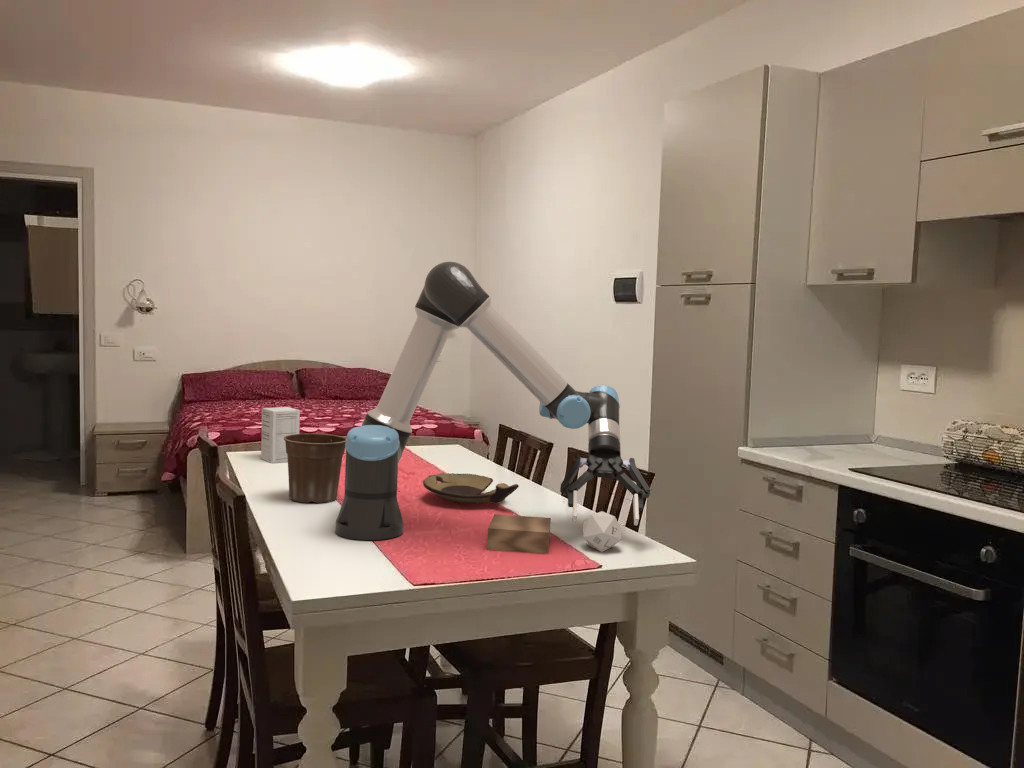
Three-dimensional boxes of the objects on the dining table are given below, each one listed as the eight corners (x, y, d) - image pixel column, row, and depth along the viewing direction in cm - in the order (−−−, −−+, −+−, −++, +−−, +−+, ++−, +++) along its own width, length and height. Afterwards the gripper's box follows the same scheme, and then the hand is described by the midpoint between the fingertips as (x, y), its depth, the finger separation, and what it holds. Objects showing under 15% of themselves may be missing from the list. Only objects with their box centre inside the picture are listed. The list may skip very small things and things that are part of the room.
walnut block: (487, 551, 176) (488, 528, 176) (493, 535, 189) (494, 514, 189) (547, 555, 175) (548, 532, 175) (549, 539, 188) (550, 517, 188)
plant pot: (358, 497, 219) (360, 437, 218) (319, 508, 204) (321, 444, 203) (309, 489, 226) (310, 431, 224) (268, 500, 211) (270, 437, 210)
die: (580, 555, 177) (606, 525, 174) (569, 527, 184) (595, 497, 181) (608, 564, 181) (635, 535, 178) (597, 537, 188) (622, 508, 184)
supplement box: (287, 456, 274) (289, 406, 272) (299, 461, 266) (301, 409, 265) (259, 458, 267) (261, 407, 266) (271, 463, 260) (272, 410, 259)
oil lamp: (482, 489, 238) (483, 462, 237) (532, 513, 211) (533, 483, 211) (409, 493, 228) (410, 465, 227) (452, 519, 201) (453, 488, 200)
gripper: (654, 454, 197) (660, 532, 183) (550, 449, 198) (548, 526, 184) (659, 435, 191) (664, 514, 178) (552, 430, 192) (549, 508, 178)
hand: (605, 520), depth 181 cm, fingers open, 13 cm apart
